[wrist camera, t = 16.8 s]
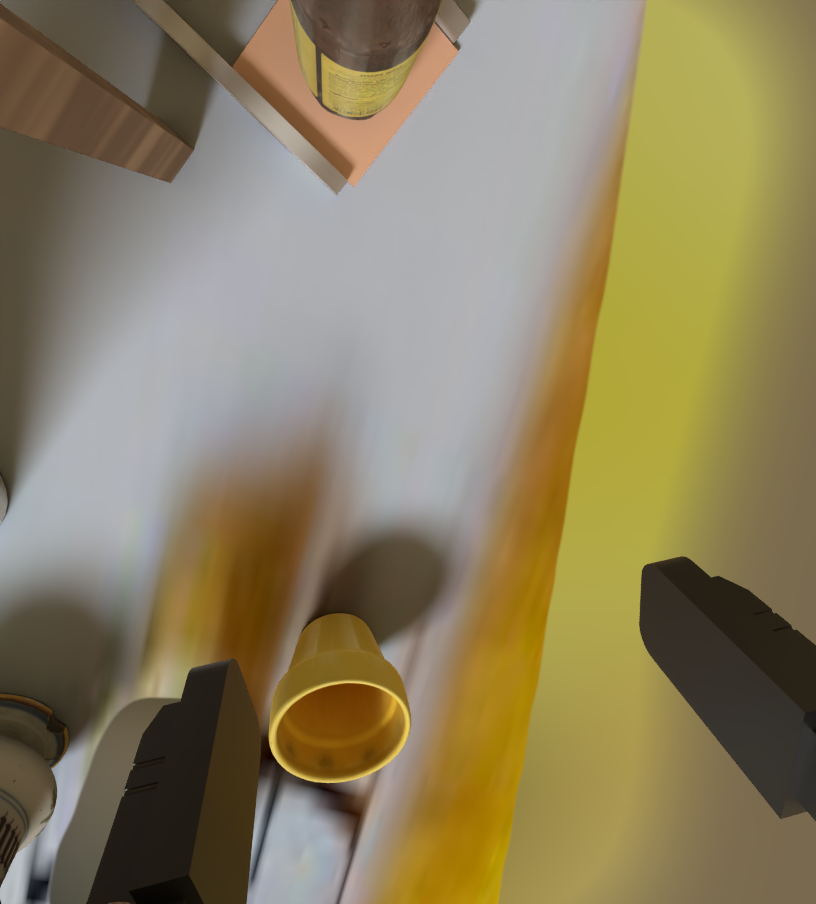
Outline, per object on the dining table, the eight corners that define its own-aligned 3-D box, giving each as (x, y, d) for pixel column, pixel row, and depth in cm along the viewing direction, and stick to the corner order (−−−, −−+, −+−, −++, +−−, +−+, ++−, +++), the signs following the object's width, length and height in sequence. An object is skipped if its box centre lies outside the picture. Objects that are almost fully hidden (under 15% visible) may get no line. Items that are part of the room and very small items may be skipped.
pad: (456, 53, 32) (458, 51, 32) (353, 186, 34) (353, 186, 34) (340, -87, 29) (341, -91, 28) (232, 69, 31) (231, 67, 30)
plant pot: (350, 572, 45) (360, 656, 36) (414, 645, 49) (437, 736, 40) (251, 636, 46) (237, 734, 37) (322, 702, 50) (325, 804, 41)
